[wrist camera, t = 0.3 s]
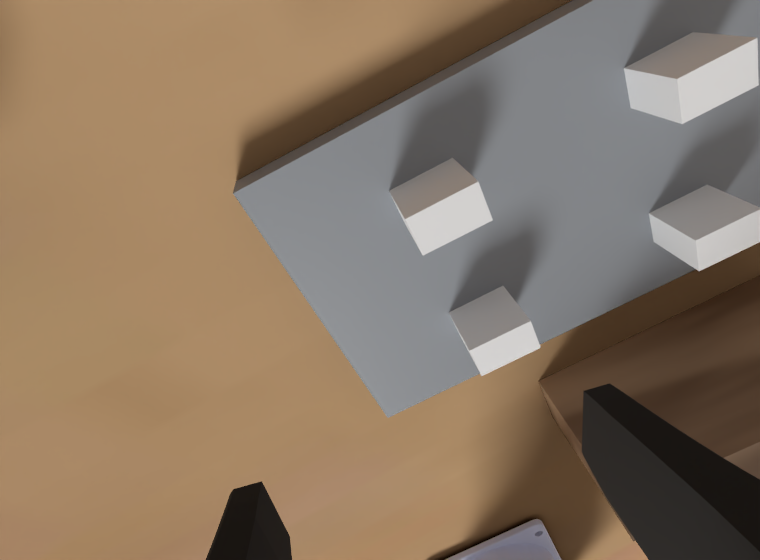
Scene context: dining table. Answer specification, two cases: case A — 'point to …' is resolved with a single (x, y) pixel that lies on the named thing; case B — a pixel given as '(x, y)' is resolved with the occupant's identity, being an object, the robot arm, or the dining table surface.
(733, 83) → the hinge board
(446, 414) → the dining table surface
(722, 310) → the cabinet door
